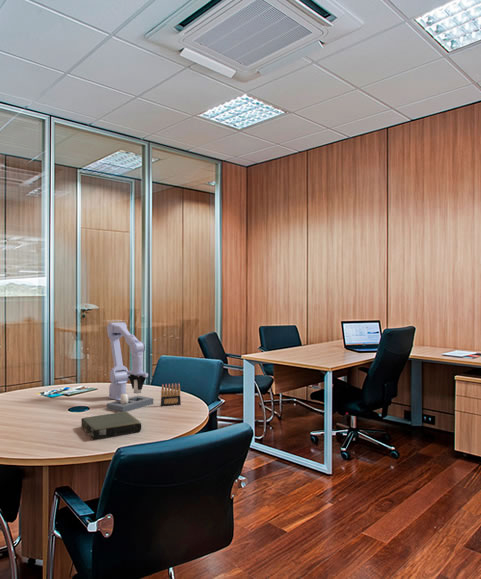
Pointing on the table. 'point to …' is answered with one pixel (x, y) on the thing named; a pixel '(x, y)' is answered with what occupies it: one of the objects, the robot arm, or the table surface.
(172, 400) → the ammunition clip
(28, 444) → the table surface
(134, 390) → the white rounded egg shape
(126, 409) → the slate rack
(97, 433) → the network switch
